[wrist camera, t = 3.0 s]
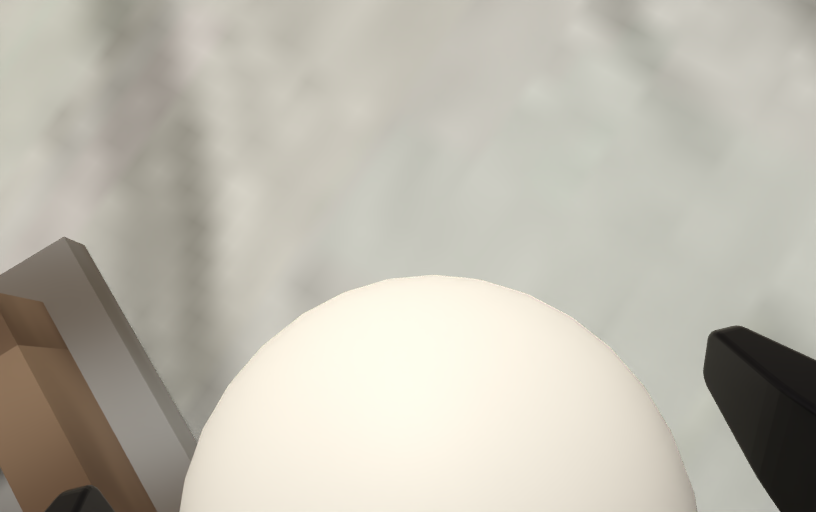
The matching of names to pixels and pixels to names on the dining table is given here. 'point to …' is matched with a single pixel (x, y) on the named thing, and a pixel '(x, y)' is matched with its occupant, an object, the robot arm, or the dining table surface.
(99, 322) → the socket holder
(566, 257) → the dining table surface
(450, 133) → the dining table surface
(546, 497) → the lightbulb
